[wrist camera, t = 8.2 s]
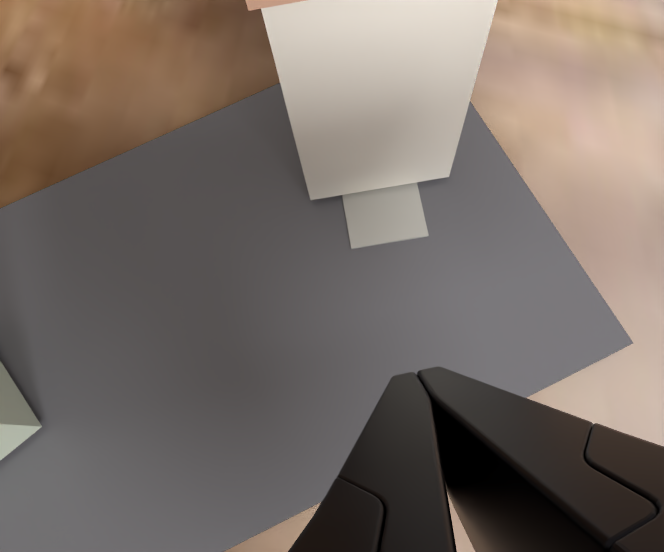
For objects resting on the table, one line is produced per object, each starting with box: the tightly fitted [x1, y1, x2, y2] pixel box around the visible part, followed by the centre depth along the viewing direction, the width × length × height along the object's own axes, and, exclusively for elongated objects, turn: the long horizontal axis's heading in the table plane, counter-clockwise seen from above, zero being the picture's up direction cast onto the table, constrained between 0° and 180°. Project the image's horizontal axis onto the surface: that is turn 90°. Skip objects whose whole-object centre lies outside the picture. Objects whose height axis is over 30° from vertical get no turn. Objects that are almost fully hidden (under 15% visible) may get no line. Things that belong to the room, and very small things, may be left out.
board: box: [0, 83, 633, 552], centre depth 21 cm, size 28×16×1 cm, turn 116°
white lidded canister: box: [246, 0, 498, 200], centre depth 17 cm, size 6×6×11 cm
